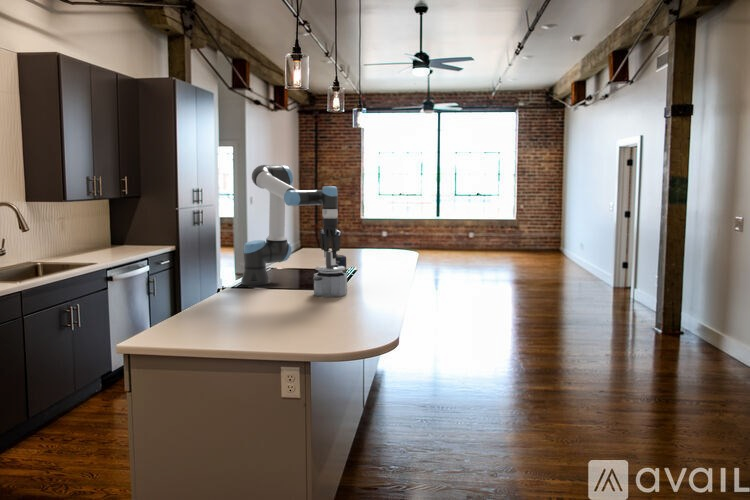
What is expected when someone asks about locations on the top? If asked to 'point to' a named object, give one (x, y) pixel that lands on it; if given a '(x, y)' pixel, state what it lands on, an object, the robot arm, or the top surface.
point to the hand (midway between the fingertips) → (330, 264)
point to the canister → (341, 261)
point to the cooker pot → (330, 285)
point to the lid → (330, 267)
